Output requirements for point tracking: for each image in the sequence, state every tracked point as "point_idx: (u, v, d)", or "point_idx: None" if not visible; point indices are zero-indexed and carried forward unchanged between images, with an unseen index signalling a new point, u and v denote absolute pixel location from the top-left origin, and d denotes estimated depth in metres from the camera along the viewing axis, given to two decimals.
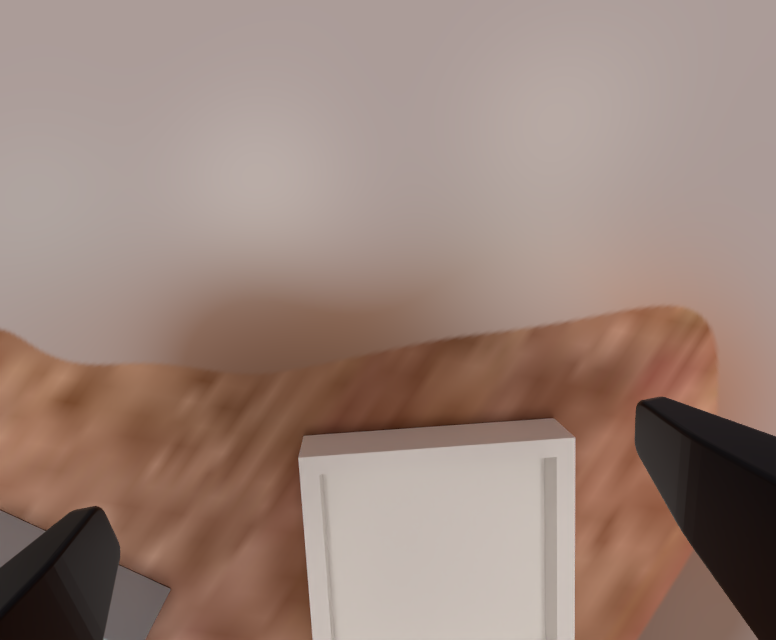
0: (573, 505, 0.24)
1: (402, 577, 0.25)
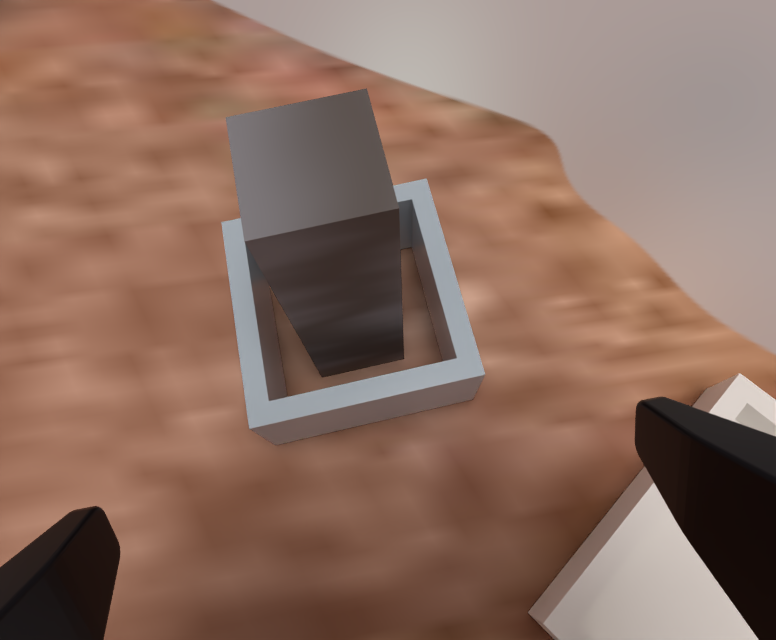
0: None
1: (713, 598, 0.19)
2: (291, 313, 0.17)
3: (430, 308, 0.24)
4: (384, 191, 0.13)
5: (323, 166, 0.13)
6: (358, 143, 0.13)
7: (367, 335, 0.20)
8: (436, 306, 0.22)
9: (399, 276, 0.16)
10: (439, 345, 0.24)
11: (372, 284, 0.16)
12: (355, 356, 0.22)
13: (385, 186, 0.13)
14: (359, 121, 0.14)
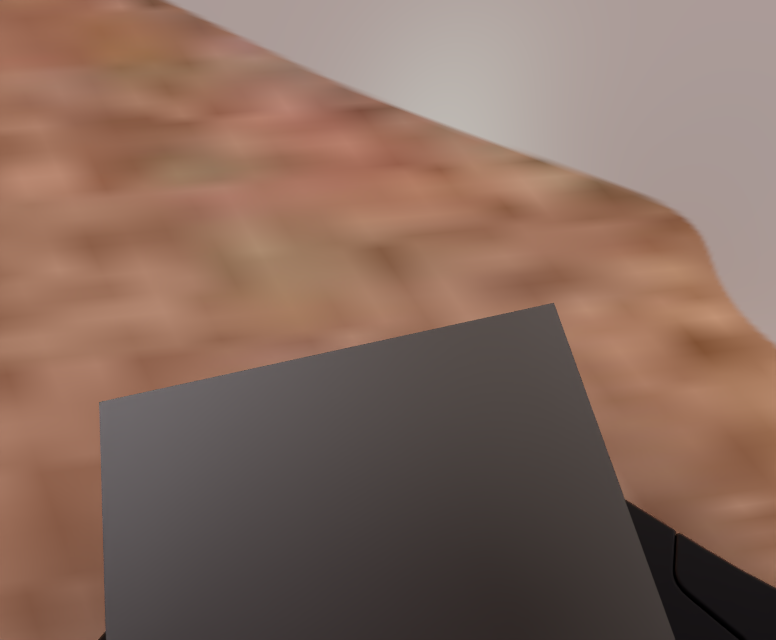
0: None
1: None
2: None
3: None
4: None
5: (434, 633, 0.04)
6: (552, 528, 0.04)
7: None
8: None
9: None
10: None
11: None
12: None
13: None
14: (545, 431, 0.04)
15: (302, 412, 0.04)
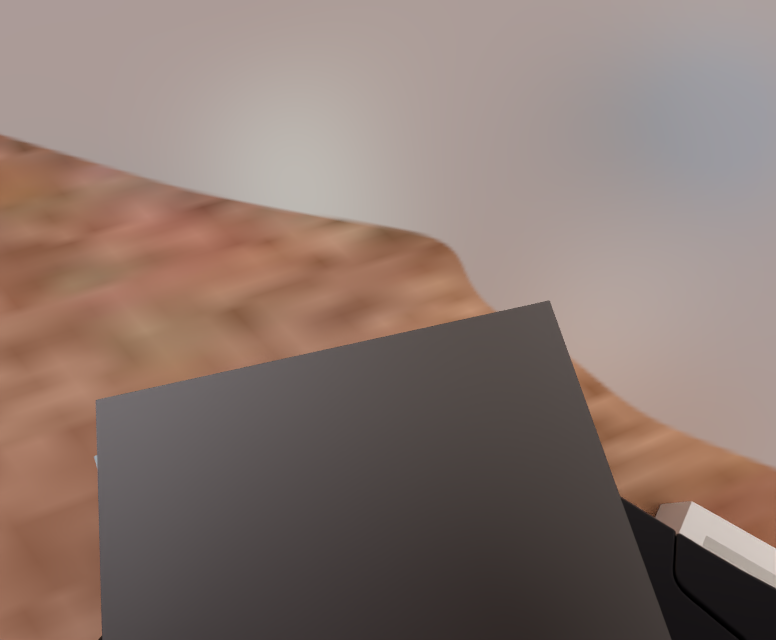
0: None
1: None
2: None
3: None
4: None
5: (429, 629, 0.04)
6: (548, 525, 0.04)
7: None
8: None
9: None
10: None
11: None
12: None
13: None
14: (540, 428, 0.04)
15: (298, 409, 0.04)
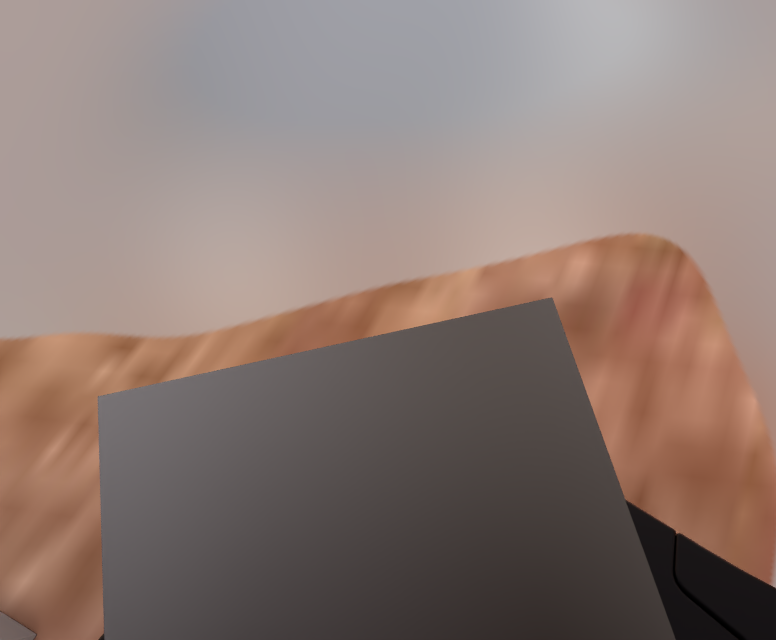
0: None
1: None
2: None
3: None
4: None
5: (432, 628, 0.04)
6: (549, 521, 0.04)
7: None
8: None
9: None
10: None
11: None
12: None
13: None
14: (543, 425, 0.04)
15: (300, 406, 0.04)
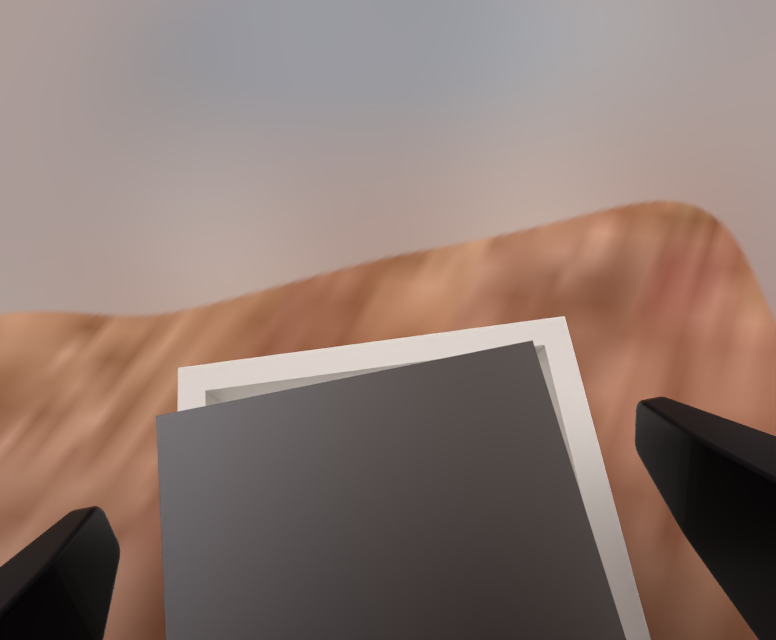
0: (588, 416, 0.15)
1: None
2: None
3: None
4: None
5: (427, 610, 0.04)
6: (523, 527, 0.05)
7: None
8: None
9: None
10: None
11: None
12: None
13: None
14: (521, 448, 0.05)
15: (322, 428, 0.05)
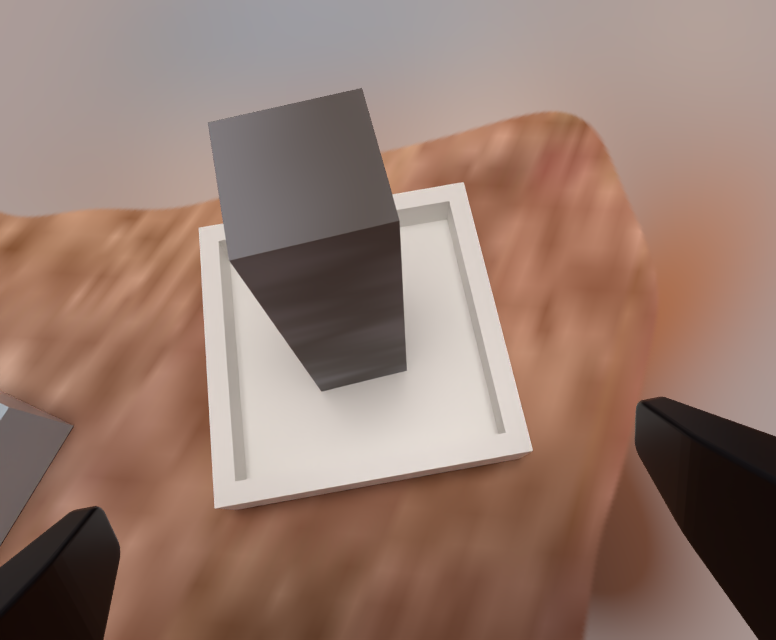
0: (477, 243, 0.23)
1: None
2: (284, 331, 0.16)
3: None
4: (383, 202, 0.12)
5: (315, 175, 0.12)
6: (353, 149, 0.12)
7: (367, 349, 0.19)
8: None
9: (401, 290, 0.15)
10: None
11: (371, 299, 0.15)
12: (356, 370, 0.21)
13: (384, 196, 0.12)
14: (354, 124, 0.12)
15: (275, 122, 0.12)
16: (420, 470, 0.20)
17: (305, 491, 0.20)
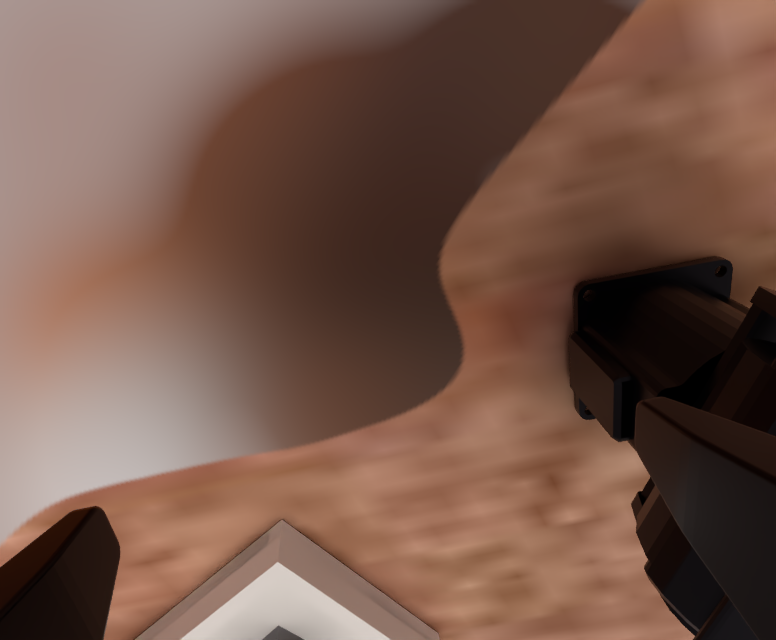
0: None
1: None
2: None
3: None
4: None
5: None
6: None
7: None
8: None
9: None
10: None
11: None
12: None
13: None
14: None
15: None
16: (344, 607, 0.25)
17: None
